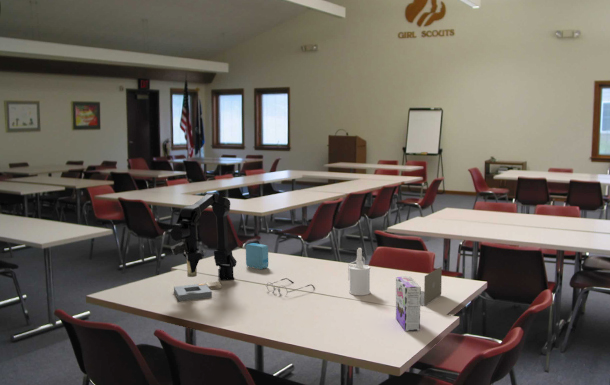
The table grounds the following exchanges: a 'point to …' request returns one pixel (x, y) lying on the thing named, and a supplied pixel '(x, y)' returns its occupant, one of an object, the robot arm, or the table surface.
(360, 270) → the white squeeze bottle
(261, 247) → the data package
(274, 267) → the table surface
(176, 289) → the hole plate
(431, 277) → the laptop
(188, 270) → the brass peg
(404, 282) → the candy box
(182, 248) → the robot arm
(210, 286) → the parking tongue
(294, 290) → the eyeglasses
